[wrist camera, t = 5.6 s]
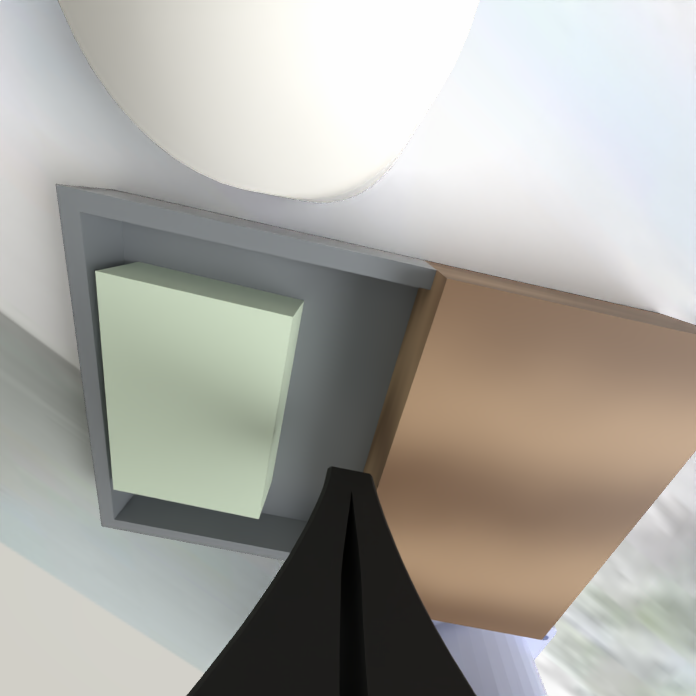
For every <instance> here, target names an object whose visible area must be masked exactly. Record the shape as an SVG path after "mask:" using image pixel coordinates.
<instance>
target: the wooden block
mask: <svg viewBox="0 0 696 696" xmlns="http://www.w3.org/2000/svg"><path fill="white" fill-rule="evenodd" d="M424 261H426V260H424ZM426 262H427V263H428V264H429V265H431V266H432V267H433V268H435V269H436V270H437V271H436V274H435V277H434V280H433V283H432V287H431V290H428V289H423V288H418V292H417V295H416V298H415V302H414V305H413V308H412V311H411V315H410V318H409V321H408V325H407V328H406V331H405V335H404V338H403V341H402V345H401V348H400V351H399V355H398V358H397V361H396V365H395V368H394V371H393V374H392V378H391V381H390V384H389V388H388V391H387V394H386V398H385V401H384V404H383V408H382V411H381V414H380V418H379V421H378V424H377V428H376V431H375V434H374V438H373V441H372V444H371V447H370V451H369V454H368V457H367V461H366V464H365V467H364V471H363V472H364V473H369V474H371V476H372V477H373V480H374V484H375V488H376V491H377V494H378V498H379V501H380V504H381V507H382V510H383V513H384V515H385V518H386V521H387V524H388V526H389V529H390V531H391V534H392V536H393V539H394V541H395V544H396V546H397V549H398V551H399V554H400V556H401V558H402V561H403V563H404V565H405V567H406V569H407V571H408V574H409V576H410V578H411V580H412V582H413V584H414V586H415V589H416V591H417V593H418V595H419V597H420V599H421V601H422V603H423V605H424V606H425V608H426V610H427V612H428V614H429V616H430V618H431V620H435V621H441V622H446V623H452V624H457V625H462V626H468V627H473V628H479V629H484V630H490V631H495V632H500V633H506V634H511V635H517V636H522V637H528V638H533V639H538V640H542V639H543V638H544V637H545V636H546V634H547V633H548V632H549V631H550V629H551V628H552V627H553V626H554V625H555V623H556V622H557V621H558V620H559V618H560V617H561V616H562V615H563V613H564V612H565V611H566V610H567V609H568V607H569V606H570V605H571V604H572V602H573V601H574V600H575V599H576V597H577V596H578V595H579V594H580V593H581V591H582V590H583V589H584V588H585V586H586V585H587V584H588V583H589V581H590V580H591V579H592V578H593V577H594V575H595V574H596V573H597V572H598V570H599V569H600V568H601V567H602V565H603V564H604V563H605V562H606V561H607V559H608V558H609V557H610V556H611V554H612V553H613V552H614V551H615V549H616V548H617V547H618V546H619V545H620V543H621V542H622V541H623V540H624V538H625V537H626V536H627V535H628V533H629V532H630V531H631V530H632V529H633V527H634V526H635V525H636V524H637V522H638V521H639V520H640V519H641V517H642V516H643V515H644V514H645V513H646V511H647V510H648V509H649V508H650V506H651V505H652V504H653V503H654V501H655V500H656V499H657V498H658V496H659V495H660V494H661V493H662V492H663V490H664V489H665V488H666V487H667V485H668V484H669V483H670V482H671V480H672V479H673V478H674V477H675V476H676V474H677V473H678V472H679V471H680V469H681V468H682V467H683V466H684V464H685V463H686V462H687V461H688V460H689V458H690V457H691V456H692V455H693V453H694V452H695V451H696V325H693V324H690V323H687V322H684V321H681V320H678V319H675V318H672V317H669V316H666V315H663V314H659V313H655V312H650V311H646V310H642V309H637V308H633V307H628V306H624V305H620V304H615V303H611V302H606V301H602V300H598V299H593V298H589V297H584V296H580V295H576V294H571V293H567V292H562V291H558V290H553V289H549V288H545V287H540V286H536V285H531V284H527V283H523V282H518V281H514V280H509V279H505V278H501V277H496V276H492V275H487V274H483V273H478V272H474V271H470V270H465V269H461V268H456V267H452V266H448V265H443V264H439V263H434V262H430V261H426Z"/></svg>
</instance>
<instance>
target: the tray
mask: <svg viewBox="0 0 696 696" xmlns="http://www.w3.org/2000/svg"><path fill="white" fill-rule="evenodd" d="M56 189H57V197H58V204H59V212H60V219H61V227H62V234H63V242H64V249H65V257H66V264H67V272H68V279H69V286H70V294H71V301H72V309H73V316H74V324H75V331H76V339H77V346H78V354H79V361H80V369H81V376H82V383H83V391H84V398H85V406H86V413H87V421H88V428H89V436H90V443H91V451H92V458H93V466H94V473H95V481H96V488H97V495H98V503H99V510H100V518H101V525H102V526H103V527H109V528H114V529H119V530H125V531H130V532H135V533H140V534H146V535H151V536H156V537H162V538H167V539H172V540H178V541H183V542H188V543H194V544H199V545H204V546H210V547H215V548H220V549H226V550H231V551H236V552H242V553H247V554H252V555H257V556H263V557H268V558H273V559H279V560H284V561H286V559H287V557H288V556H289V554H290V552H291V551H292V549H293V547H294V545H295V544H296V542H297V540H298V538H299V537H300V535H301V533H302V531H303V529H304V528H305V526H306V524H307V522H308V520H309V518H310V516H311V513H312V511H313V509H314V507H315V505H316V503H317V501H318V498H319V496H320V493H321V491H322V488H323V485H324V481H325V477H326V473H327V469H328V468H329V467H331V466H334V467H339V468H344V469H349V470H354V471H359V472H363V471H364V467H365V464H366V461H367V457H368V454H369V451H370V447H371V444H372V441H373V438H374V434H375V431H376V428H377V424H378V421H379V418H380V414H381V411H382V408H383V404H384V401H385V398H386V394H387V391H388V388H389V384H390V381H391V378H392V374H393V371H394V368H395V365H396V361H397V358H398V355H399V351H400V348H401V345H402V341H403V338H404V335H405V331H406V328H407V325H408V321H409V318H410V315H411V311H412V308H413V305H414V302H415V298H416V295H417V292H418V288H423V289H428V290H431V287H432V283H433V280H434V277H435V274H436V271H437V270H436V269H435V268H433V267H432V266H431V265H429V264H428V263H427V262H426V261H424V260H421V259H417V258H412V257H408V256H404V255H399V254H395V253H390V252H386V251H381V250H377V249H373V248H368V247H364V246H359V245H355V244H351V243H346V242H342V241H337V240H333V239H329V238H324V237H320V236H315V235H311V234H307V233H302V232H298V231H293V230H289V229H284V228H280V227H276V226H271V225H267V224H262V223H258V222H254V221H249V220H245V219H240V218H236V217H232V216H227V215H223V214H218V213H214V212H209V211H205V210H201V209H196V208H192V207H187V206H183V205H179V204H174V203H170V202H165V201H161V200H157V199H152V198H148V197H143V196H139V195H135V194H130V193H126V192H121V191H117V190H112V189H101V188H91V187H81V186H70V185H60V184H56ZM135 262H142V263H147V264H151V265H155V266H159V267H164V268H168V269H172V270H176V271H181V272H185V273H189V274H193V275H197V276H202V277H206V278H210V279H214V280H219V281H223V282H227V283H231V284H236V285H240V286H244V287H248V288H253V289H257V290H261V291H265V292H270V293H274V294H278V295H282V296H287V297H291V298H295V299H299V300H303V301H304V304H303V310H302V316H301V321H300V327H299V332H298V338H297V343H296V349H295V355H294V360H293V366H292V371H291V377H290V383H289V388H288V394H287V399H286V405H285V410H284V416H283V422H282V427H281V433H280V438H279V444H278V449H277V455H276V461H275V466H274V472H273V477H272V482H271V485H270V488H269V491H268V494H267V497H266V500H265V503H264V506H263V508H262V511H261V514H260V517H259V519H255V518H251V517H246V516H241V515H236V514H231V513H226V512H221V511H216V510H211V509H207V508H202V507H197V506H192V505H187V504H182V503H177V502H172V501H167V500H162V499H158V498H153V497H148V496H143V495H138V494H133V493H128V492H123V491H118V490H114V489H113V479H112V467H111V455H110V443H109V431H108V419H107V407H106V395H105V383H104V371H103V359H102V346H101V334H100V322H99V310H98V298H97V286H96V274H95V271H97V270H102V269H107V268H111V267H116V266H121V265H126V264H130V263H135Z"/></svg>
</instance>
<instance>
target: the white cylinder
mask: <svg viewBox="0 0 696 696" xmlns="http://www.w3.org/2000/svg"><path fill="white" fill-rule="evenodd" d="M58 2H59V4H60V7H61V9H62V11H63V13H64V15H65V18H66V20H67V22H68V24H69V27H70V29H71V31H72V33H73V35H74V38H75V39H76V41H77V43H78V45H79V47H80V48H81V50H82V52H83V54H84V55H85V57H86V59H87V61H88V63H89V64H90V66H91V68H92V70H93V71H94V73H95V74H96V75H97V77H98V78H99V80H100V81H101V83H102V84H103V86H104V87H105V89H106V90H107V91H108V93H109V94H110V96H111V97H112V98H113V100H114V101H115V102H116V103H117V104H118V106H119V107H120V108H121V109H122V110H123V111H124V113H125V114H126V115H127V116H128V117H129V119H130V120H131V121H132V122H133V123H134V124H135V125H136V126H137V127H138V128H139V129H140V130H141V131H142V132H143V133H144V134H145V135H146V136H147V137H148V138H150V139H151V140H152V141H153V142H154V143H155V144H156V145H158V146H159V147H160V148H162V149H163V150H164V151H165V152H167V153H168V154H169V155H171V156H172V157H173V158H174V159H176V160H178V161H179V162H181V163H183V164H184V165H186V166H188V167H189V168H191V169H192V170H194V171H196V172H197V173H200V174H202V175H204V176H206V177H209V178H211V179H213V180H215V181H218V182H220V183H223V184H226V185H230V186H233V187H236V188H240V189H243V190H248V191H253V192H259V193H264V194H269V195H274V196H280V197H285V198H290V199H295V200H300V201H306V202H313V203H332V202H339V201H342V200H346V199H349V198H352V197H354V196H356V195H358V194H361V193H362V192H364V191H366V190H367V189H369V188H370V187H372V186H373V185H374V184H375V183H377V182H378V181H379V180H380V179H381V178H382V177H383V176H384V175H385V174H386V173H387V172H388V171H389V170H390V169H391V167H392V166H393V165H394V163H395V162H396V161H397V159H398V158H399V156H400V155H401V153H402V151H403V150H404V148H405V147H406V145H407V143H408V142H409V140H410V138H411V137H412V135H413V134H414V132H415V130H416V129H417V127H418V126H419V124H420V122H421V121H422V119H423V118H424V116H425V114H426V113H427V111H428V110H429V108H430V106H431V105H432V103H433V102H434V100H435V98H436V97H437V95H438V94H439V92H440V90H441V88H442V86H443V85H444V83H445V81H446V79H447V78H448V76H449V74H450V72H451V71H452V69H453V67H454V65H455V63H456V61H457V58H458V56H459V54H460V52H461V49H462V47H463V45H464V42H465V40H466V38H467V36H468V33H469V31H470V28H471V25H472V21H473V18H474V15H475V12H476V9H477V6H478V3H479V0H58Z"/></svg>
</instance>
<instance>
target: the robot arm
mask: <svg viewBox="0 0 696 696" xmlns="http://www.w3.org/2000/svg"><path fill="white" fill-rule="evenodd" d="M556 632H557V631H556V628H555V626H553V627H552V628H551V629H550V631H549V632H548V633H547V634H546V636H545V637H544V638H543V639H542V640H538V639H533V638H528V637H522V636H517V635H511V634H506V633H500V632H495V631H490V630H484V629H479V628H473V627H468V626H462V625H457V624H452V623H446V622H441V621H435V620H431V618H430V616H429V614H428V612H427V610H426V608H425V606H424V605H423V603H422V601H421V599H420V597H419V595H418V593H417V591H416V589H415V586H414V584H413V582H412V580H411V578H410V576H409V574H408V571H407V569H406V567H405V565H404V563H403V561H402V558H401V556H400V554H399V551H398V549H397V546H396V544H395V541H394V539H393V536H392V534H391V531H390V529H389V526H388V524H387V521H386V518H385V515H384V513H383V510H382V507H381V504H380V501H379V498H378V494H377V491H376V488H375V484H374V480H373V477H372V476H371V474H369V473H364V472H359V471H354V470H349V469H344V468H339V467H334V466H331V467H329V468H328V469H327V473H326V477H325V481H324V485H323V488H322V491H321V493H320V496H319V498H318V501H317V503H316V505H315V507H314V509H313V511H312V513H311V516H310V518H309V520H308V522H307V524H306V526H305V528H304V529H303V531H302V533H301V535H300V537H299V538H298V540H297V542H296V544H295V545H294V547H293V549H292V551H291V552H290V554H289V556H288V557H287V559H286V561H285V562H284V564H283V566H282V567H281V569H280V570H279V572H278V573H277V575H276V577H275V578H274V580H273V581H272V583H271V584H270V586H269V587H268V589H267V590H266V592H265V593H264V595H263V596H262V597H261V599H260V600H259V602H258V603H257V605H256V606H255V607H254V609H253V610H252V612H251V613H250V615H249V616H248V617H247V619H246V620H245V621H244V623H243V624H242V626H241V627H240V628H239V630H238V631H237V632H236V634H235V635H234V636H233V638H232V639H231V640H230V641H229V643H228V644H227V645H226V647H225V648H224V649H223V650H222V652H221V653H220V654H219V656H218V657H217V658H216V659H215V661H214V662H213V663H212V664H211V666H210V667H209V668H208V670H207V671H206V672H205V673H204V675H203V676H202V677H201V679H200V680H199V681H198V682H197V683H196V685H195V686H194V687H193V688H192V690H191V691H190V692H189V694H187V696H547V693H546V690H545V688H544V685H543V683H542V680H541V677H540V675H539V672H538V669H537V667H536V664H535V661H534V660H535V658H536V657H537V656H538V655H539V654H540V652H541V651H542V650H543V649H544V648H545V646H546V645H547V644H548V643H549V642H550V640H551V639H552V638H553V637H554V635H555V634H556Z"/></svg>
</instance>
